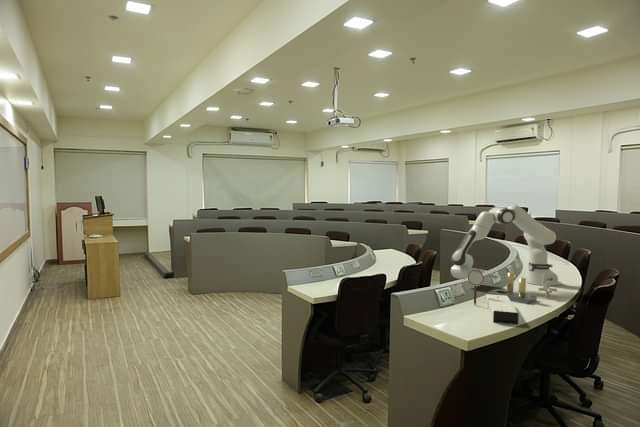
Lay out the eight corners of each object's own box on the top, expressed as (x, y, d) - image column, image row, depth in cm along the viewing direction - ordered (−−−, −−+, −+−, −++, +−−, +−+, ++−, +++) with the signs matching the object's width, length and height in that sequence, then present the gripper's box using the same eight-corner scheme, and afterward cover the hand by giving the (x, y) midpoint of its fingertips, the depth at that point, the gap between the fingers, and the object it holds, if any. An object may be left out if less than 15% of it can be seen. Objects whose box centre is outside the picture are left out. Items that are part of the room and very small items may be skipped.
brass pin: (511, 292, 261) (511, 272, 260) (514, 293, 257) (515, 273, 257) (505, 292, 261) (506, 272, 260) (509, 293, 257) (509, 273, 256)
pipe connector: (559, 300, 242) (560, 283, 242) (541, 299, 244) (541, 282, 244) (553, 296, 252) (553, 280, 251) (535, 295, 254) (536, 279, 253)
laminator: (485, 304, 234) (486, 294, 233) (509, 306, 230) (509, 295, 230) (493, 323, 201) (493, 310, 201) (520, 325, 198) (521, 313, 197)
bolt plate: (487, 295, 252) (488, 275, 251) (496, 292, 260) (497, 272, 259) (528, 304, 234) (529, 281, 233) (536, 300, 242) (537, 278, 241)
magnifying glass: (466, 304, 233) (467, 269, 231) (467, 303, 234) (468, 269, 233) (482, 306, 228) (483, 271, 227) (483, 306, 229) (484, 270, 228)
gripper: (466, 272, 270) (486, 275, 259) (481, 268, 283) (501, 271, 273) (465, 281, 270) (486, 285, 260) (480, 277, 284) (500, 280, 273)
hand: (493, 278), depth 267 cm, fingers open, 8 cm apart
